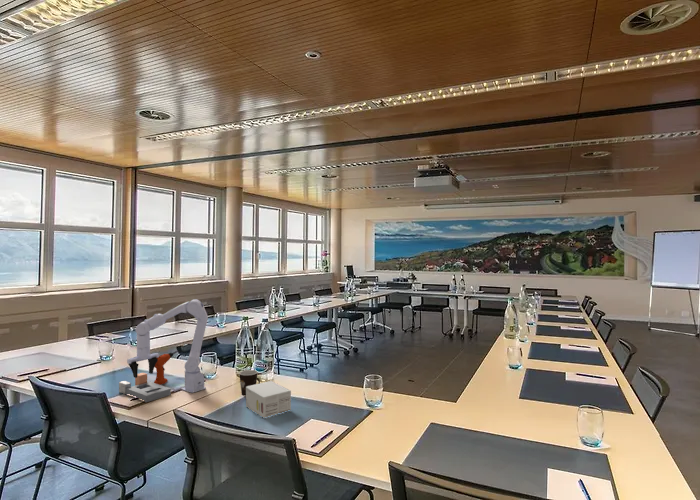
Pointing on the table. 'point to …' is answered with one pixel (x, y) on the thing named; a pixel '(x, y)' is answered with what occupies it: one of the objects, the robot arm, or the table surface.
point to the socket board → (149, 391)
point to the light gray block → (124, 386)
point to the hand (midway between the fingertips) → (143, 375)
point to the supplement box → (268, 398)
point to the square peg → (141, 379)
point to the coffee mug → (248, 379)
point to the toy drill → (162, 368)
